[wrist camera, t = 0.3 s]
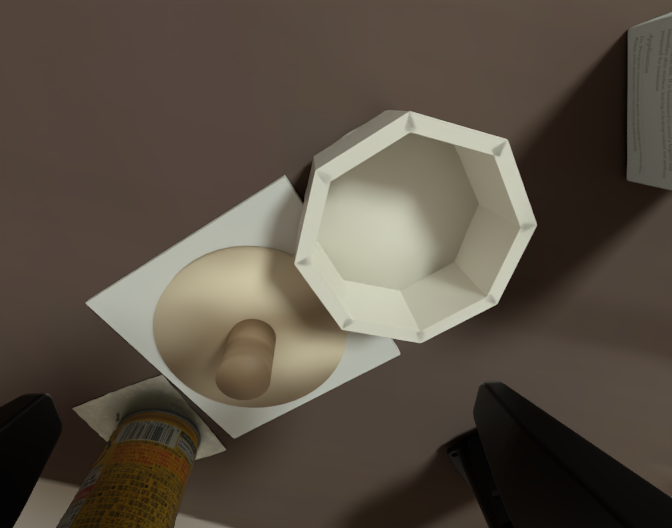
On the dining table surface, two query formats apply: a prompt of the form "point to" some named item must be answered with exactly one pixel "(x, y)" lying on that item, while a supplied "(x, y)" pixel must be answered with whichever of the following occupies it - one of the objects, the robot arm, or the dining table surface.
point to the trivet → (225, 231)
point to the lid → (247, 328)
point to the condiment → (139, 458)
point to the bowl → (412, 225)
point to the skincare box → (650, 103)
